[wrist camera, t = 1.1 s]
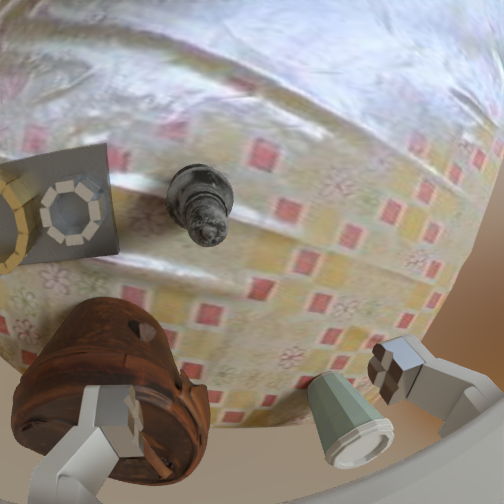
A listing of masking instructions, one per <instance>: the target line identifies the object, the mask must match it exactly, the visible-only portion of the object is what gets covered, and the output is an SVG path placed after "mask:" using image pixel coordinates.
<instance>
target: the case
mask: <svg viewBox="0 0 504 504" xmlns="http://www.w3.org/2000/svg"><path fill="white" fill-rule="evenodd" d="M180 371H181V375H179V372H178V370H177V367H176V364H175V362H174V359H173V356H172V353H171V350H170V347H169V343H168V339H167V336H166V334H165V332H164V330H163V329H162V327H161V326H160V324H159V323H158V322H157V321H156V320H155V319H154V318H153V317H152V316H151V315H150V314H149V313H148V312H146V311H145V310H144V309H142V308H140V307H139V306H137V305H135V304H132V303H130V302H128V301H125V300H122V299H118V298H111V297H99V298H93V299H90V300H87V301H85V302H83V303H81V304H80V305H78V306H77V307H76V308H75V309H74V310H73V311H72V312H71V313H70V315H69V316H68V317H67V318H66V320H65V321H64V322H63V324H62V325H61V326H60V328H59V329H58V330H57V332H56V333H55V334H54V336H53V337H52V338H51V340H50V341H49V342H48V344H47V345H46V347H45V348H44V349H43V351H42V352H41V354H40V355H39V356H38V358H37V359H36V360H35V361H34V363H33V364H32V365H31V366H30V367H29V368H28V369H27V370H26V372H25V373H24V374H23V375H22V377H21V379H20V384H19V385H18V386H17V387H16V390H15V392H14V395H13V408H12V416H11V428H12V431H13V434H14V437H15V439H16V440H17V442H18V443H19V444H20V445H22V446H24V447H26V448H29V449H31V450H33V451H35V452H37V453H39V454H42V455H44V456H46V455H47V454H48V453H49V452H50V451H51V450H52V449H53V448H54V447H55V445H56V444H57V443H58V442H59V441H60V440H61V439H62V438H63V437H64V436H65V435H66V434H67V433H68V431H69V430H70V429H71V428H72V427H73V426H78V421H79V415H80V409H81V404H82V398H83V393H84V389H85V387H86V386H87V385H132V386H133V388H134V390H135V399H136V400H138V401H139V403H140V406H141V410H142V414H143V426H144V428H143V429H142V431H141V435H142V437H143V439H144V456H138V457H119V460H118V461H117V463H116V465H115V466H114V468H113V469H112V471H111V473H110V474H109V476H108V477H109V478H112V479H115V480H119V481H123V482H128V483H133V484H139V485H149V486H162V485H169V484H174V483H177V482H180V481H182V480H183V479H185V478H186V477H188V476H189V475H190V474H191V473H192V472H193V471H194V470H195V468H196V467H197V466H198V464H199V463H200V461H201V459H202V457H203V455H204V453H205V449H206V445H207V439H208V431H209V427H210V417H211V416H210V405H209V400H208V393H207V387H206V385H203V384H201V385H194V384H193V383H192V382H191V381H190V380H189V378H188V376H187V375H186V374H185V372H184V371H183V370H182V369H181V370H180ZM180 376H181V377H180ZM181 379H182V380H181Z"/></svg>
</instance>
